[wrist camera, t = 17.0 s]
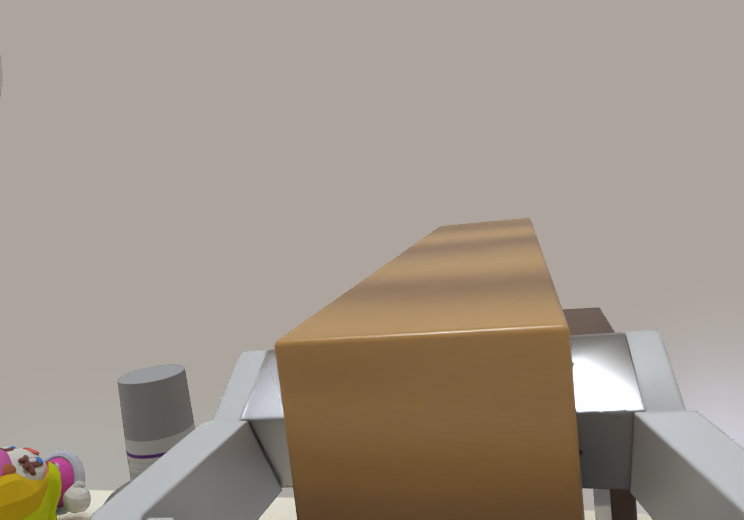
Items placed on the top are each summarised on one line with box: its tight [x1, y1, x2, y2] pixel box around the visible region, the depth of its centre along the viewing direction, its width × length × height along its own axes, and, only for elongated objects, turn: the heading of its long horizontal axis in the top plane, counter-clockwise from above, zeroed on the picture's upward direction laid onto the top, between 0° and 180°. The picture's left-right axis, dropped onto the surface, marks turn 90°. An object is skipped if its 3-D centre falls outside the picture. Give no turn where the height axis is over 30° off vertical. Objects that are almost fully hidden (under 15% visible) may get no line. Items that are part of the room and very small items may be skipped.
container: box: [118, 364, 195, 480], centre depth 44 cm, size 5×5×15 cm
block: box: [275, 218, 584, 520], centre depth 18 cm, size 20×4×3 cm, turn 167°
